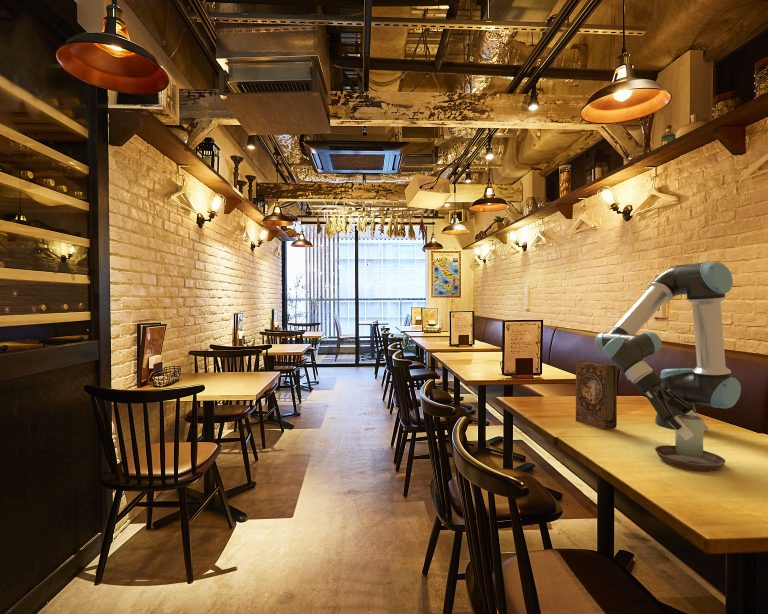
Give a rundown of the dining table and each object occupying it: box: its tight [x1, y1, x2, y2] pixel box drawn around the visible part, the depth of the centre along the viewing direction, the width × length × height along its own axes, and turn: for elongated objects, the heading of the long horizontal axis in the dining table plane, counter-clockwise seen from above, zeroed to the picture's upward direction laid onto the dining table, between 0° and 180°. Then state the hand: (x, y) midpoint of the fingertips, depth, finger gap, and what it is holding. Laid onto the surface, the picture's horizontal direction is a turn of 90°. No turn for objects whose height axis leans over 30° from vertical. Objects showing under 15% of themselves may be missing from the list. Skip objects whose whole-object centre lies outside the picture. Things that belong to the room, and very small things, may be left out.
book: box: [575, 360, 618, 430], centre depth 178 cm, size 16×6×25 cm, turn 22°
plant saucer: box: [654, 444, 726, 472], centre depth 134 cm, size 18×18×3 cm
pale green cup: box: [674, 415, 704, 457], centre depth 134 cm, size 7×7×11 cm
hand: (697, 434), depth 132 cm, fingers open, 13 cm apart
